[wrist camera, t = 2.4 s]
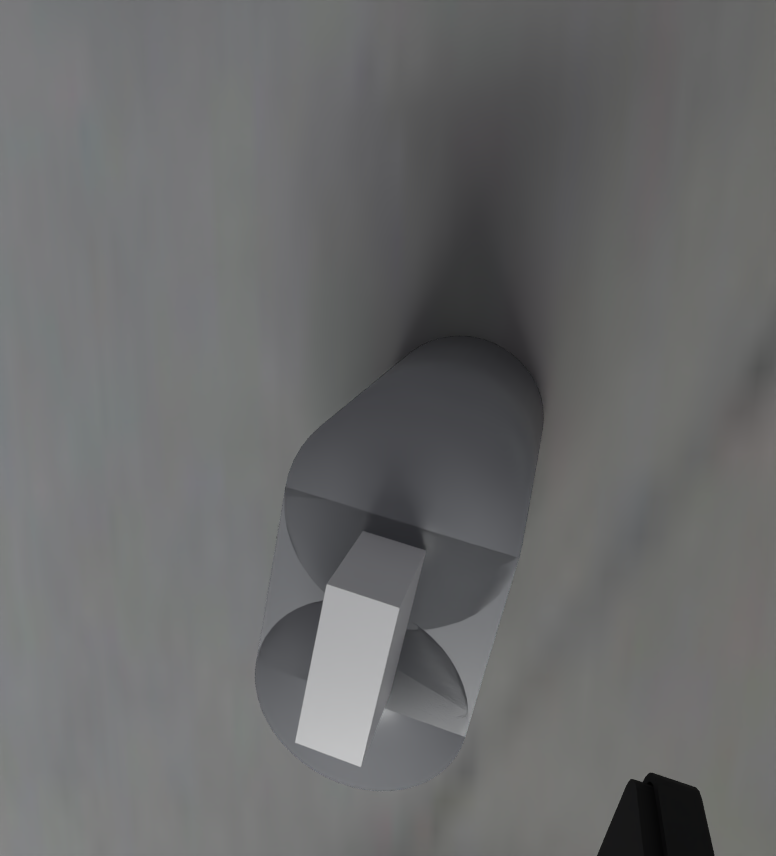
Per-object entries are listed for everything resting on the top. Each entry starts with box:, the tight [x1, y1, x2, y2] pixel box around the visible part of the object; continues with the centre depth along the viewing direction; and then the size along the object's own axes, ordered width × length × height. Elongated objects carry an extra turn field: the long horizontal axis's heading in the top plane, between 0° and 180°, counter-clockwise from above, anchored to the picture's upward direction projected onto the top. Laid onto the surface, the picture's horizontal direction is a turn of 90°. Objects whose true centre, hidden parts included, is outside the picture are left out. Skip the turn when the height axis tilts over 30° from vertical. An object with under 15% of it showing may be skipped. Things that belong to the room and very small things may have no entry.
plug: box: [255, 336, 544, 791], centre depth 16 cm, size 4×8×9 cm, turn 168°
